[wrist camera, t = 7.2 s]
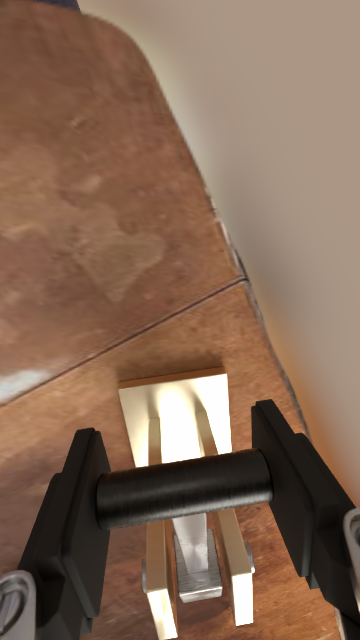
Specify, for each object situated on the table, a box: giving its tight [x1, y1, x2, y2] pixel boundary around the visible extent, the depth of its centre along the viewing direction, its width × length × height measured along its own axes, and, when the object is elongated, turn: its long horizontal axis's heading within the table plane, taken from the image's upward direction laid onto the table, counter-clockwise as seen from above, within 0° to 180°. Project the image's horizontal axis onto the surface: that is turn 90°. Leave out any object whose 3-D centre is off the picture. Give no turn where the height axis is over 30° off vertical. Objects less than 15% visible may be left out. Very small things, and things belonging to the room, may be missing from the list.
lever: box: [95, 448, 274, 603], centre depth 12 cm, size 13×5×2 cm, turn 7°
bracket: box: [118, 367, 255, 640], centre depth 19 cm, size 11×9×13 cm
